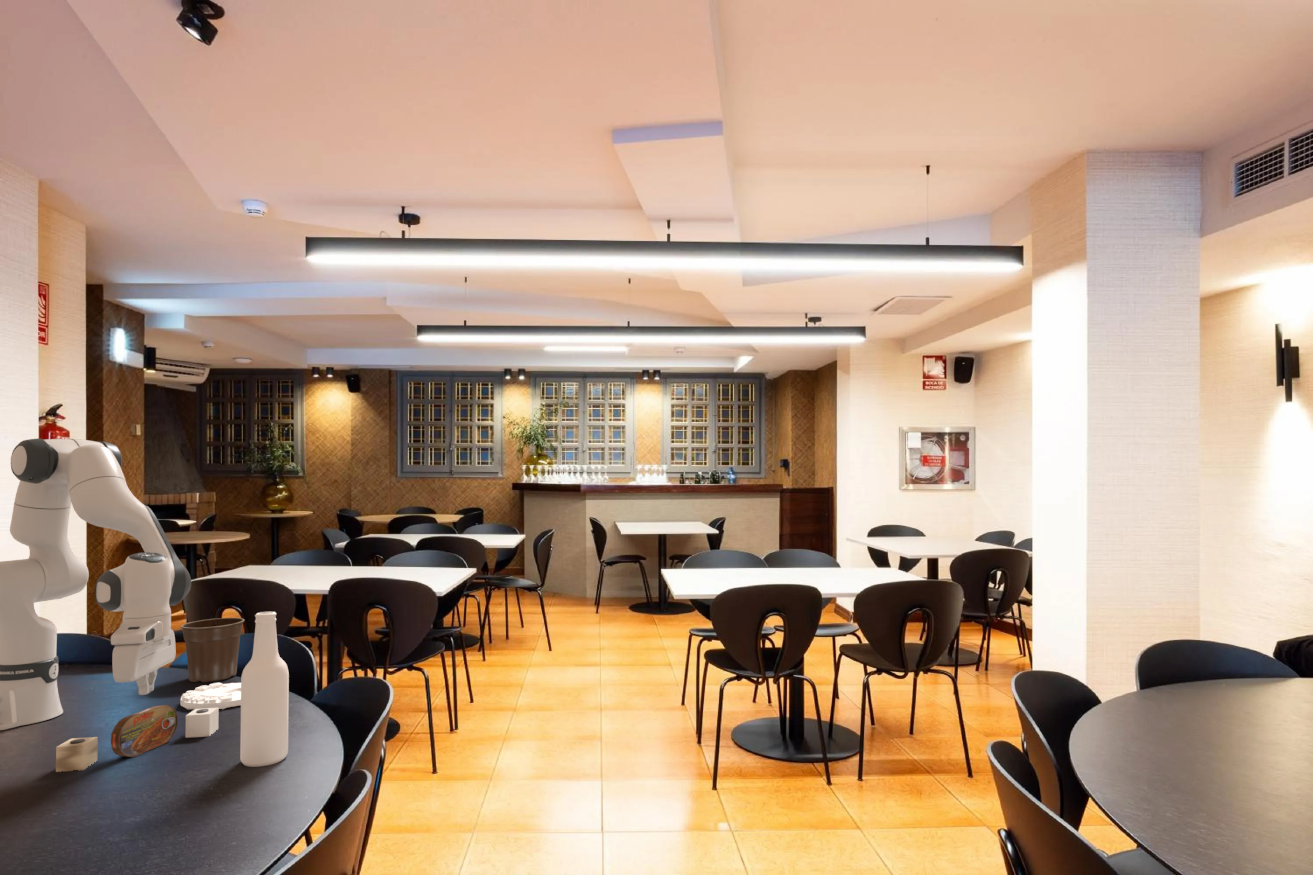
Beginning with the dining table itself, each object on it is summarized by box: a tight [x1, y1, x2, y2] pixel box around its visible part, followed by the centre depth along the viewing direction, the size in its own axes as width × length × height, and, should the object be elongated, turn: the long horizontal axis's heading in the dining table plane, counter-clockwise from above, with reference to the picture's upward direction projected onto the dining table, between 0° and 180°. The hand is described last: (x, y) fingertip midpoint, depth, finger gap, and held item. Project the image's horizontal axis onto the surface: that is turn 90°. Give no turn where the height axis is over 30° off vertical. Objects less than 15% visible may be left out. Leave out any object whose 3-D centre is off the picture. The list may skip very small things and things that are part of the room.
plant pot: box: [180, 617, 245, 683], centre depth 227 cm, size 16×16×16 cm
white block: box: [185, 708, 220, 739], centre depth 177 cm, size 5×5×5 cm
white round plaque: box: [179, 681, 241, 711], centre depth 203 cm, size 20×20×3 cm
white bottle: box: [239, 611, 290, 768], centre depth 160 cm, size 9×9×30 cm
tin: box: [110, 704, 179, 758], centre depth 166 cm, size 15×3×8 cm, turn 168°
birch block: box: [55, 736, 99, 773], centre depth 157 cm, size 5×5×5 cm
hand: (146, 692), depth 167 cm, fingers closed
